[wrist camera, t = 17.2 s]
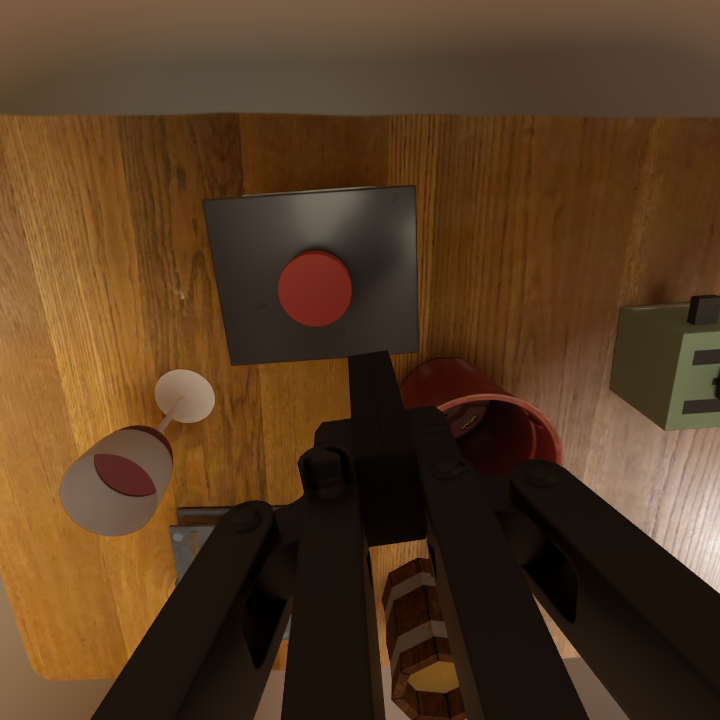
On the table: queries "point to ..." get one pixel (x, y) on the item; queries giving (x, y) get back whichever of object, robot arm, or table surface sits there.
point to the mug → (420, 646)
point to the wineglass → (133, 462)
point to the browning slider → (718, 390)
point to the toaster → (670, 362)
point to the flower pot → (483, 416)
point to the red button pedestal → (323, 233)
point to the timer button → (315, 288)
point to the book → (196, 538)
